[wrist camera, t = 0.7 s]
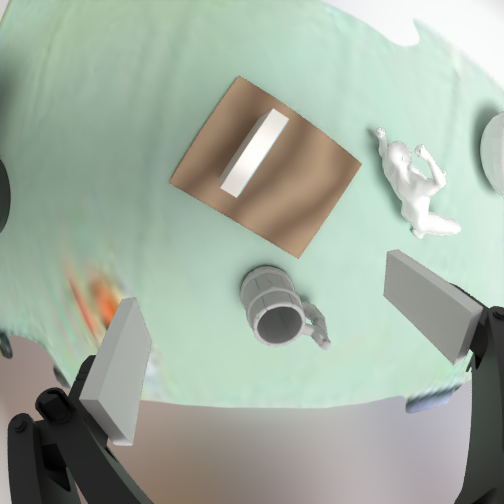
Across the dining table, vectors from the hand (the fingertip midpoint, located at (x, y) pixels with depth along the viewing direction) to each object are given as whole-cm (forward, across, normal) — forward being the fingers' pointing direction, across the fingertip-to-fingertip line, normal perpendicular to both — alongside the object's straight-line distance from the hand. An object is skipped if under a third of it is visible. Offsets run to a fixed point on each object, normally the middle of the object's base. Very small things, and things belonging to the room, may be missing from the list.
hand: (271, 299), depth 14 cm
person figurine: (+25, +26, -1) cm, 36 cm away
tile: (+24, +2, +6) cm, 25 cm away
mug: (+25, +5, -14) cm, 29 cm away
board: (+25, +5, +4) cm, 26 cm away
